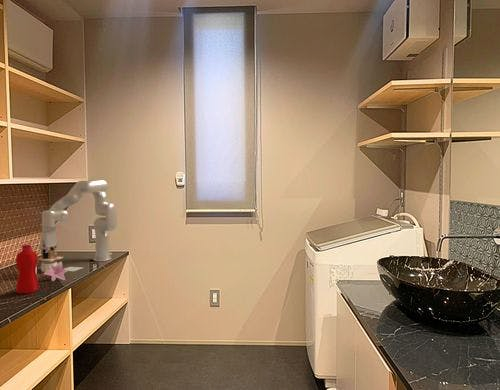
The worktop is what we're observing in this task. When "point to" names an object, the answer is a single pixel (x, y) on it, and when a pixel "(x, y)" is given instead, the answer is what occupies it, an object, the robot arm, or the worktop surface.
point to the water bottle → (27, 270)
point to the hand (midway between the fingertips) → (49, 257)
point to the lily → (56, 271)
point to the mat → (73, 268)
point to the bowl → (47, 265)
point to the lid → (50, 256)
